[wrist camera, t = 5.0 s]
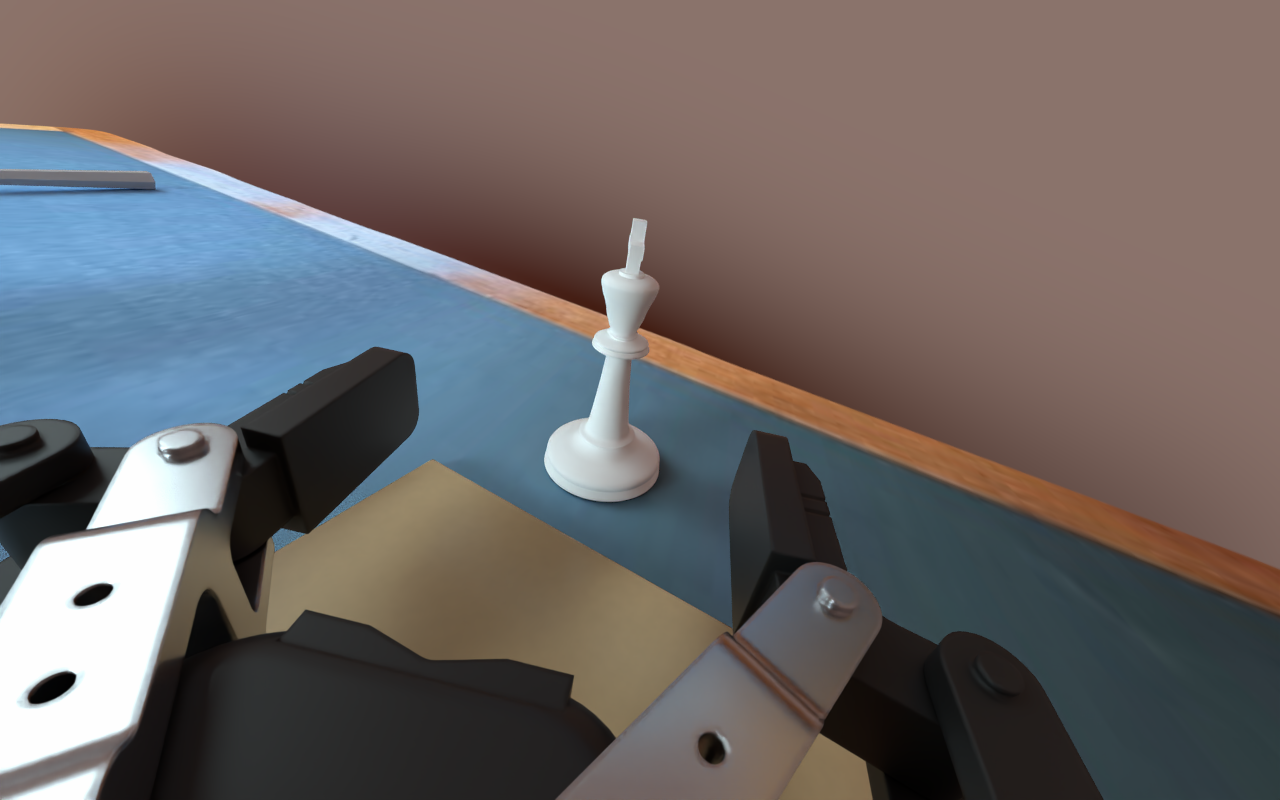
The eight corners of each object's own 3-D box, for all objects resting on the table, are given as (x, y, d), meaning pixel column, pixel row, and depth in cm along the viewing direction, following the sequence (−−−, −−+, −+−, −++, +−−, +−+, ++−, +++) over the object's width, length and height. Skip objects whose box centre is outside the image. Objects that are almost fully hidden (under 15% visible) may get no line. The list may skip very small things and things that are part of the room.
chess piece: (654, 435, 22) (702, 218, 17) (663, 508, 18) (729, 250, 13) (551, 423, 22) (570, 196, 17) (535, 496, 18) (554, 222, 13)
